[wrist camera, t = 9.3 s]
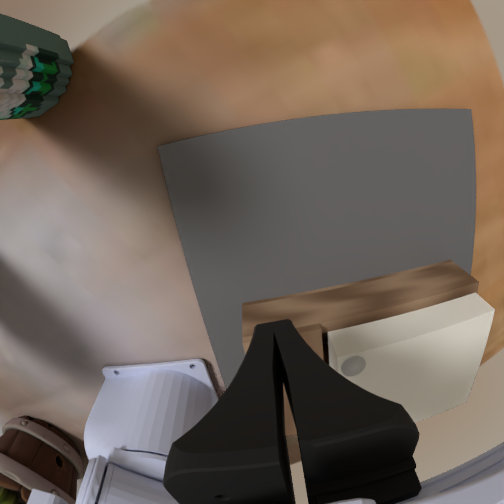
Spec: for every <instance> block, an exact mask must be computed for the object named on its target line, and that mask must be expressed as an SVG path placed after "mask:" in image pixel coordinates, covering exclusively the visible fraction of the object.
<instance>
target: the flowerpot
mask: <svg viewBox="0 0 504 504" xmlns="http://www.w3.org/2000/svg"><path fill="white" fill-rule="evenodd" d="M2 433H3V435H2V436H1V437H0V504H27V502H28V500H29V497H30V494H31V492H32V489H38V490H42V491H45V492H48V493H52V494H55V495H57V496H59V497H61V498H62V499H64V500H65V501H66V502H67V503H68V504H75V503H76V492H77V480H78V479H80V478H81V477H82V474H83V473H84V470H83V463H82V460H81V458H80V453H79V451H78V450H76V446H75V445H74V443H73V442H72V441H71V440H70V439H69V438H68V437H66V436H65V435H64V434H63V433H61V432H60V431H59V430H57V429H56V428H54V427H49V425H48V424H47V423H45V422H43V421H41V420H30V418H29V417H28V416H22V417H19V418H13V419H11V420H10V421H8V422H7V423H6V424H5V425H4V426H3V428H2Z"/></svg>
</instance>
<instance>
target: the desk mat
mask: <svg viewBox="0 0 504 504" xmlns="http://www.w3.org/2000/svg"><path fill="white" fill-rule="evenodd" d="M158 150H159V155H160V159H161V164H162V168H163V172H164V177H165V181H166V185H167V189H168V193H169V197H170V201H171V205H172V209H173V213H174V217H175V221H176V225H177V229H178V233H179V236H180V240H181V244H182V248H183V251H184V255H185V259H186V262H187V266H188V269H189V273H190V276H191V280H192V283H193V287H194V290H195V293H196V297H197V300H198V303H199V307H200V310H201V313H202V317H203V320H204V323H205V326H206V329H207V333H208V336H209V339H210V342H211V345H212V348H213V351H214V354H215V357H216V360H217V363H218V366H219V369H220V372H221V375H222V378H223V381H224V384H225V387H226V389H227V388H228V386H229V385H230V383H231V382H232V380H233V378H234V377H235V375H236V373H237V371H238V369H239V367H240V365H241V363H242V361H243V359H244V357H245V351H244V347H243V344H242V303H246V302H252V301H257V300H263V299H269V298H274V297H280V296H285V295H290V294H296V293H301V292H306V291H311V290H316V289H322V288H327V287H331V286H336V285H341V284H346V283H351V282H356V281H360V280H365V279H370V278H374V277H379V276H383V275H388V274H392V273H396V272H401V271H405V270H409V269H414V268H418V267H422V266H426V265H430V264H434V263H439V262H443V261H447V260H452V261H453V262H454V263H455V264H457V265H458V266H459V267H461V268H462V269H463V270H465V271H466V272H467V273H468V274H470V275H471V267H472V257H473V246H474V233H475V212H476V167H475V146H474V133H473V122H472V113H471V109H401V110H380V111H365V112H352V113H341V114H331V115H322V116H314V117H306V118H298V119H291V120H284V121H277V122H271V123H265V124H259V125H253V126H247V127H242V128H237V129H231V130H226V131H221V132H217V133H212V134H207V135H203V136H198V137H194V138H189V139H185V140H181V141H177V142H173V143H169V144H165V145H161V146H158Z"/></svg>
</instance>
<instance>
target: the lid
mask: <svg viewBox="0 0 504 504" xmlns="http://www.w3.org/2000/svg"><path fill="white" fill-rule="evenodd" d="M494 311H495V309H494V308H492V307H491V306H490V305H489V304H488V303H487V302H486V301H485V300H483V299H482V298H481V297H480V296H479V295H478V294H477V293H476V292H475V293H472V294H469V295H466V296H463V297H460V298H457V299H453V300H450V301H447V302H444V303H440V304H437V305H433V306H430V307H426V308H423V309H419V310H416V311H412V312H408V313H405V314H401V315H397V316H393V317H389V318H386V319H382V320H377V321H373V322H369V323H365V324H361V325H357V326H352V327H348V328H343V329H339V330H334V331H329V332H328V349H329V366H330V367H332V368H333V369H334V370H335V371H337V372H338V373H339V374H341V375H342V376H344V377H345V378H346V379H348V380H349V381H351V382H353V383H354V384H356V385H358V386H360V387H361V388H363V389H365V390H367V391H369V392H371V393H373V394H375V395H377V396H379V397H382V398H385V399H388V400H390V401H393V402H396V403H399V404H401V405H402V406H403V407H404V408H405V410H406V411H407V412H408V414H409V415H410V416H411V418H412V419H413V421H414V423H416V422H418V421H421V420H424V419H427V418H429V417H432V416H434V415H437V414H439V413H442V412H444V411H447V410H449V409H452V408H454V407H456V406H459V405H461V404H463V403H465V402H467V399H468V397H469V394H470V391H471V389H472V386H473V383H474V380H475V377H476V375H477V372H478V369H479V366H480V362H481V359H482V356H483V353H484V349H485V346H486V342H487V339H488V335H489V331H490V328H491V324H492V320H493V315H494Z"/></svg>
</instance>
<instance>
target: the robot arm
mask: <svg viewBox="0 0 504 504" xmlns="http://www.w3.org/2000/svg"><path fill="white" fill-rule="evenodd" d="M191 364H194V365H195V366H192V365H191ZM117 371H118V372H117ZM102 373H103V375H104V376H105V378H106V379H105V381H104V383H103V385H102V387H101V390H100V392H99V394H98V397H97V399H96V401H95V403H94V406H93V408H92V410H91V413H90V415H89V418H88V420H87V423H86V426H85V431H84V445H85V451H86V454H87V457H88V459H89V463H88V466H87V469H86V472H85V475H84V478H83V481H82V484H81V487H80V490H79V493H78V497H77V500H76V503H75V504H295V497H294V491H293V483H292V477H291V470H290V462H289V456H288V449H287V442H286V433H285V413H284V389H283V383H284V387H285V391H286V394H287V398H288V401H289V405H290V409H291V412H292V416H293V419H294V423H295V427H296V431H297V436H298V442H299V448H300V454H301V460H302V465H303V472H304V478H305V484H306V490H307V497H308V503H309V504H504V442H503V443H501V444H499V445H498V446H496V447H494V448H492V449H491V450H489V451H487V452H485V453H483V454H481V455H480V456H478V457H476V458H474V459H472V460H470V461H468V462H466V463H464V464H462V465H460V466H457V467H455V468H453V469H451V470H449V471H447V472H445V473H442V474H440V475H437V476H435V477H433V478H430V479H428V480H425V481H423V482H419V480H418V477H417V474H416V472H415V468H416V463H415V461H414V459H413V453H414V451H415V447H416V445H417V442H418V439H419V432H418V429H417V427H416V424H415V423H414V421H413V419H412V418H411V416H410V415H409V414H408V412H407V411H406V410H405V408H404V407H403V406H402V405H401V404H399V403H396V402H393V401H390V400H388V399H385V398H382V397H379V396H377V395H375V394H373V393H371V392H369V391H367V390H365V389H363V388H361V387H360V386H358V385H356V384H354V383H353V382H351V381H349V380H348V379H346V378H345V377H344V376H342V375H341V374H339V373H338V372H337V371H335V370H334V369H333V368H332V367H330V366H329V365H328V364H327V363H326V362H325V361H324V360H323V359H321V358H320V357H319V356H318V355H317V354H316V353H315V352H314V351H313V350H312V348H311V347H310V346H309V345H308V344H307V343H306V342H305V340H304V339H303V338H302V337H301V335H300V334H299V333H298V331H297V330H296V328H295V327H294V325H293V323H292V321H291V320H289V319H284V320H279V321H273V322H268V323H262V324H257V325H256V326H255V327H254V332H253V336H252V339H251V342H250V345H249V348H248V350H247V352H246V355H245V357H244V359H243V361H242V363H241V365H240V367H239V369H238V371H237V373H236V375H235V377H234V378H233V380H232V382H231V383H230V385H229V386H228V388H227V389H226V391H225V392H224V394H223V395H222V396H221V397H220V399H218V396H217V393H216V391H215V388H214V385H213V383H212V380H211V377H210V375H209V372H208V369H207V366H206V364H205V362H204V361H203V360H202V359H191V360H182V361H172V362H162V363H151V364H139V365H125V366H108V367H104V368H103V370H102ZM27 504H68V503H67V502H66V501H65V500H64V499H62V498H61V497H59V496H57V495H55V494H52V493H48V492H45V491H42V490H38V489H32V492H31V494H30V497H29V500H28V502H27Z"/></svg>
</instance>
